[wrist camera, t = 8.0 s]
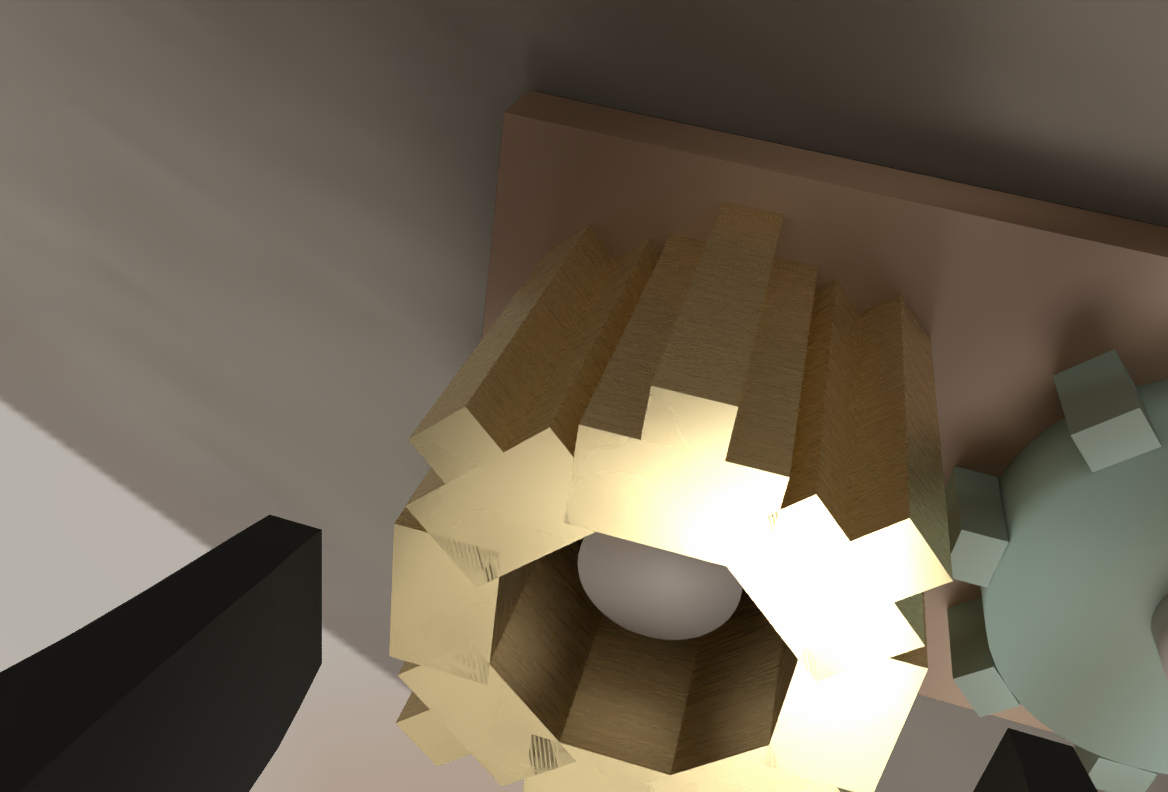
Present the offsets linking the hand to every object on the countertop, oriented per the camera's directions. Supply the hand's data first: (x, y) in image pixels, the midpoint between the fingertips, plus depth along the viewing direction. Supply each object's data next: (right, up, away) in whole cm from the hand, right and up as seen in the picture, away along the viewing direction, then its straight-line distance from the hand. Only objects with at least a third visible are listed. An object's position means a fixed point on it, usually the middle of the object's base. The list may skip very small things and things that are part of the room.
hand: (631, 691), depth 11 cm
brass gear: (+1, +3, +4) cm, 5 cm away
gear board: (+5, +2, +5) cm, 7 cm away
